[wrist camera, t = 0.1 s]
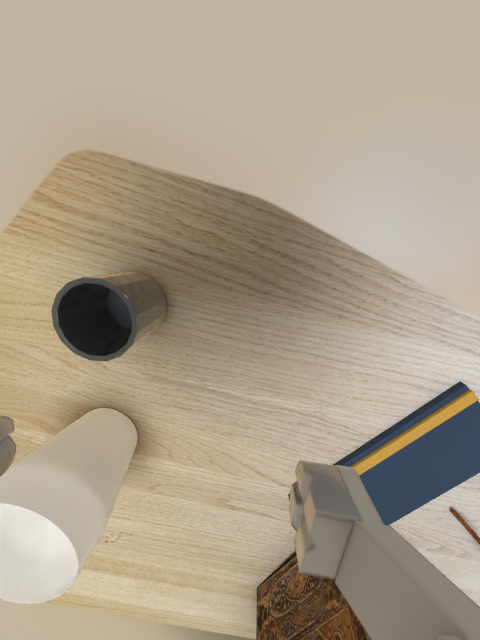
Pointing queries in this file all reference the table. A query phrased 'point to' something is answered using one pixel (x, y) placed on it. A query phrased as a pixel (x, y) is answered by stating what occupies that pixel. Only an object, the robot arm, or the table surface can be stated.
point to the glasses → (466, 526)
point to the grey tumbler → (108, 313)
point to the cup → (61, 504)
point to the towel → (421, 454)
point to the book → (304, 608)
